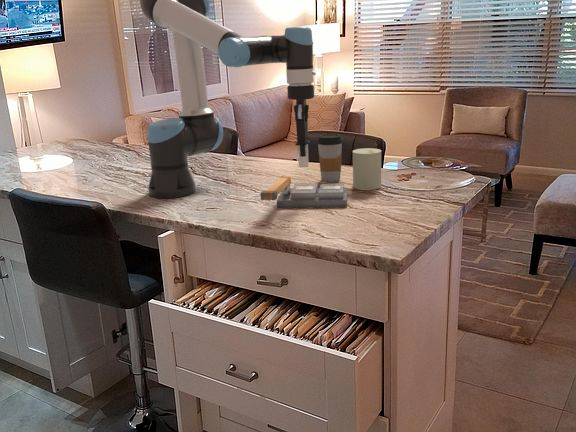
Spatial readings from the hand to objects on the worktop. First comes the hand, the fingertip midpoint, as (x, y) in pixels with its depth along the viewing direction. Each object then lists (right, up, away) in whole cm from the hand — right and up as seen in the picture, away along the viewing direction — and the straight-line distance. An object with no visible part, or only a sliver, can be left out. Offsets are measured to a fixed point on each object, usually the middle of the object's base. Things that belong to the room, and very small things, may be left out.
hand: (303, 166), depth 173 cm
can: (+21, -5, +16) cm, 27 cm away
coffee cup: (+10, -3, +26) cm, 28 cm away
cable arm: (-7, -7, -6) cm, 12 cm away
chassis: (+3, -10, +3) cm, 11 cm away
